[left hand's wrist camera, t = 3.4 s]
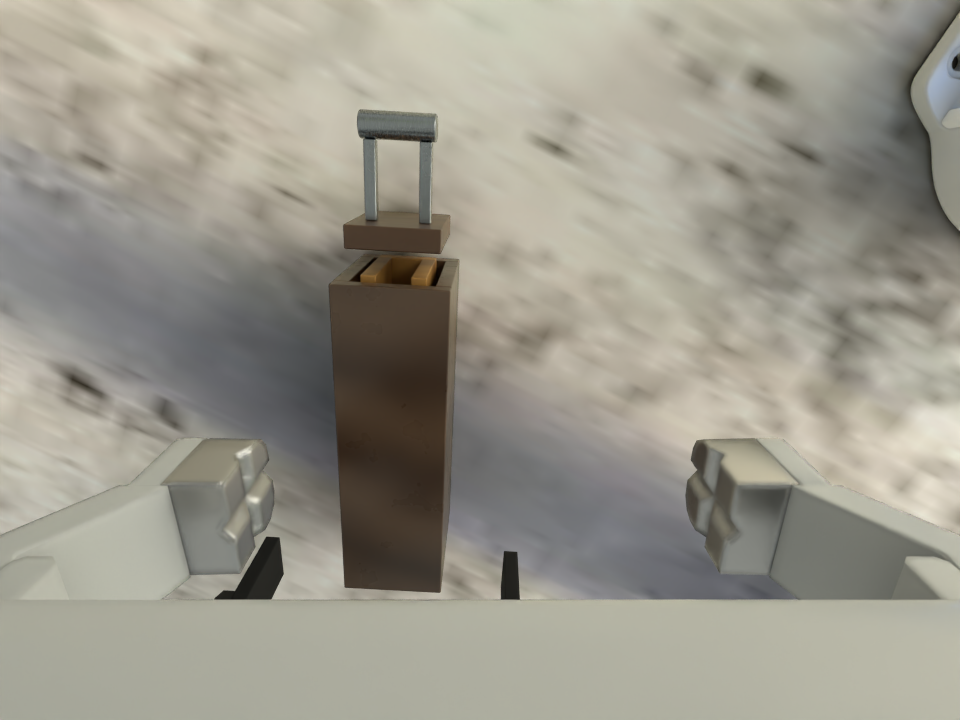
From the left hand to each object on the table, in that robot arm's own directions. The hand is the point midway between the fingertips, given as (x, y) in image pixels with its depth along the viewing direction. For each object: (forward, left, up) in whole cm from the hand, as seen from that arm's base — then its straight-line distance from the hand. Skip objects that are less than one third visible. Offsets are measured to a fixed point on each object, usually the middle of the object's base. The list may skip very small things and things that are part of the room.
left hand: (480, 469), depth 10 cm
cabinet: (+11, -2, -25) cm, 28 cm away
